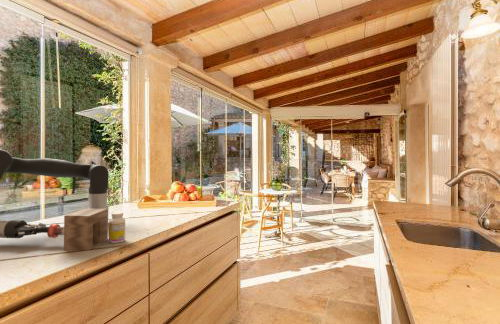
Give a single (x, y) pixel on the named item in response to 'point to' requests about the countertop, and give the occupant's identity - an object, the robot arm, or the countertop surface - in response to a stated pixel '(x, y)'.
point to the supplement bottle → (117, 228)
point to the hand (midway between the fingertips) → (51, 229)
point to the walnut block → (85, 228)
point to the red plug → (55, 231)
